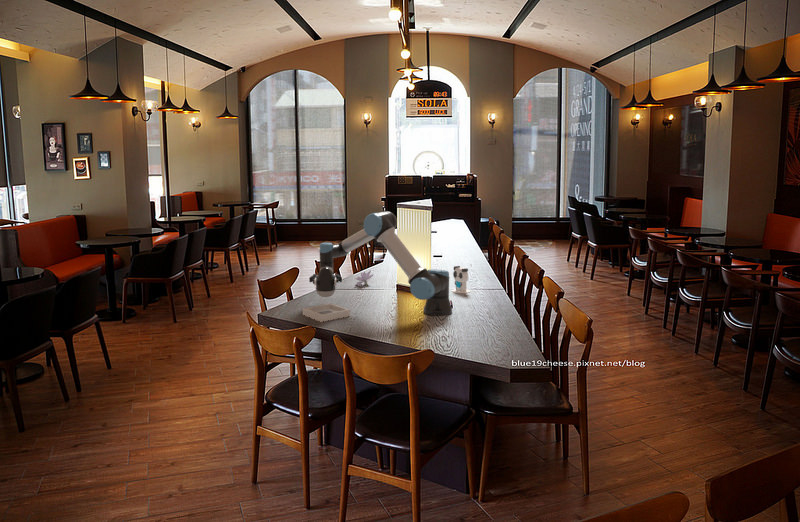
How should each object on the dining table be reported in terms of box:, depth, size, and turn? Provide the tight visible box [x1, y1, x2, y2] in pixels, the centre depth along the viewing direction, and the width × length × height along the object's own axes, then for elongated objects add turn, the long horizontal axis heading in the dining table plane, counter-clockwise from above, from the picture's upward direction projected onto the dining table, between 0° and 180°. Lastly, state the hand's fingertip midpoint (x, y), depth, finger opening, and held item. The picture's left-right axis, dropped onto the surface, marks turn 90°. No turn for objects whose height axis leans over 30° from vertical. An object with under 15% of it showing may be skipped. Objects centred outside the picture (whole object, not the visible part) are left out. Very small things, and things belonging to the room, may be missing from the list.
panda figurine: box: [451, 265, 471, 294], centre depth 386 cm, size 12×11×15 cm
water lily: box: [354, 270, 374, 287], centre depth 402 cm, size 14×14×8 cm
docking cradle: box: [302, 302, 351, 323], centre depth 330 cm, size 18×18×4 cm
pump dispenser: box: [315, 267, 336, 298], centre depth 328 cm, size 10×10×15 cm
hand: (325, 282), depth 323 cm, fingers closed on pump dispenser, 10 cm apart
